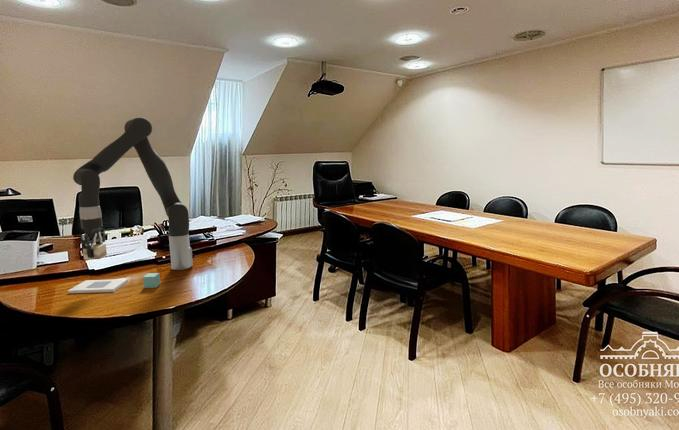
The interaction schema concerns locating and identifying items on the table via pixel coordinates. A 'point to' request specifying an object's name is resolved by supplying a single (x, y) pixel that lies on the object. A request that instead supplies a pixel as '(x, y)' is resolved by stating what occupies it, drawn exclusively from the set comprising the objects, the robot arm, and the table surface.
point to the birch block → (96, 251)
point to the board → (98, 286)
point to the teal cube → (151, 280)
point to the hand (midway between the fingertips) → (95, 255)
